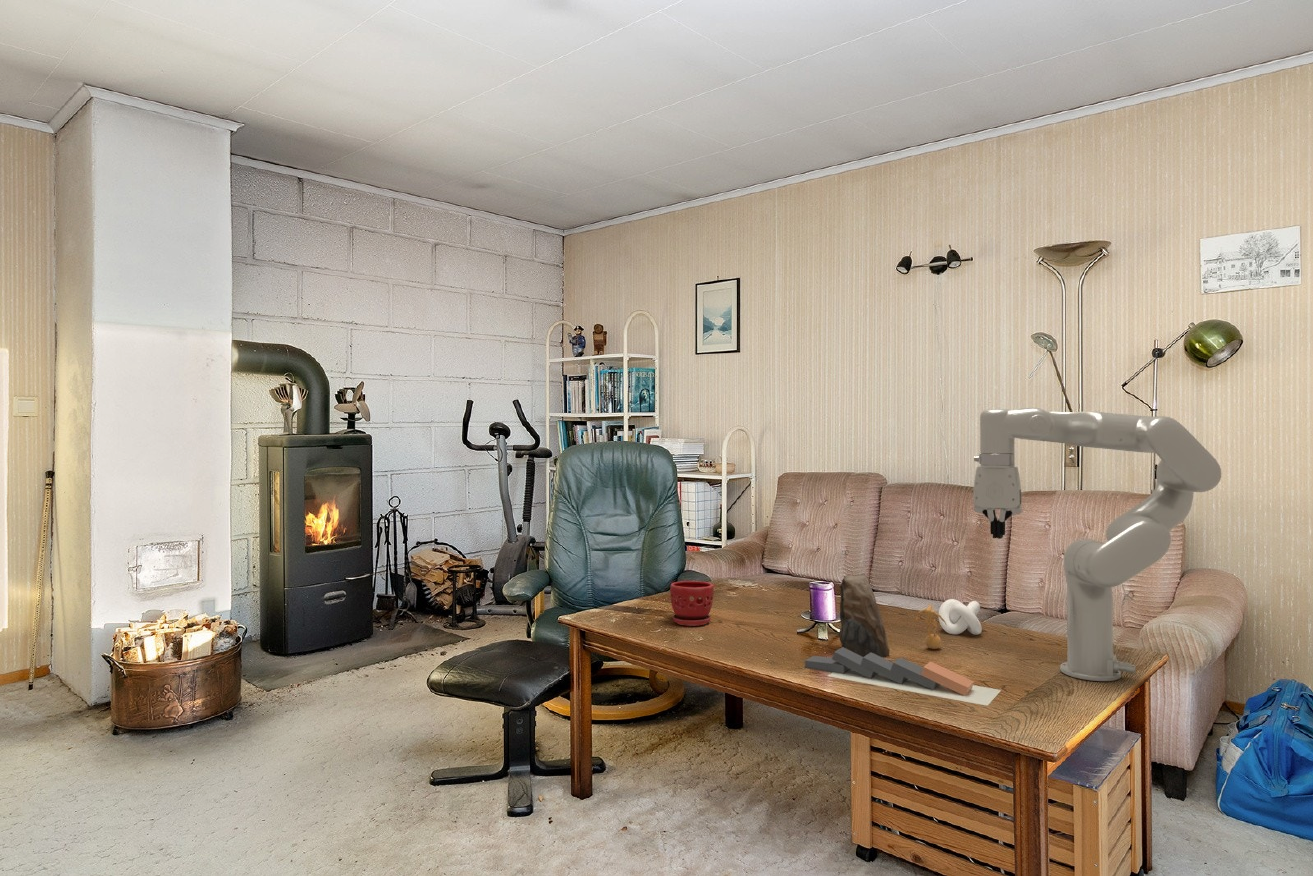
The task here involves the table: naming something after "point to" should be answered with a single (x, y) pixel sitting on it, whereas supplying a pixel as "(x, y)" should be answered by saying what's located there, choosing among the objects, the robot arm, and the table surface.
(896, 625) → the table surface
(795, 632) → the table surface
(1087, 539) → the robot arm
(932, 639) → the figurine
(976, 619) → the white knot sculpture
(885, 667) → the slate domino
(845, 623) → the tall jagged boulder
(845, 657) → the slate domino
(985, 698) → the felt mat
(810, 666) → the slate domino
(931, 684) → the slate domino
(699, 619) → the plant pot
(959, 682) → the rust domino
